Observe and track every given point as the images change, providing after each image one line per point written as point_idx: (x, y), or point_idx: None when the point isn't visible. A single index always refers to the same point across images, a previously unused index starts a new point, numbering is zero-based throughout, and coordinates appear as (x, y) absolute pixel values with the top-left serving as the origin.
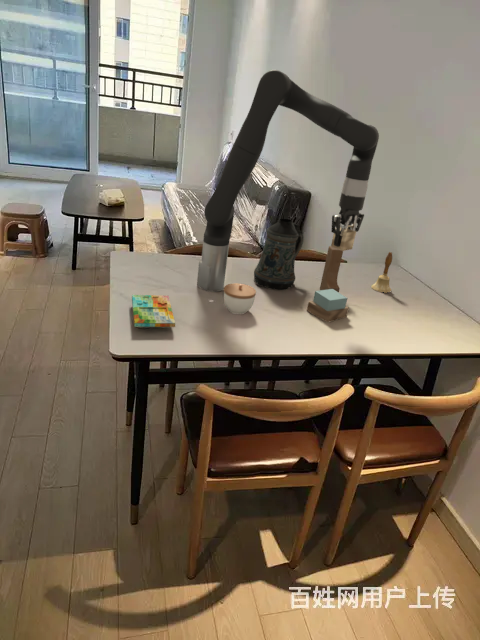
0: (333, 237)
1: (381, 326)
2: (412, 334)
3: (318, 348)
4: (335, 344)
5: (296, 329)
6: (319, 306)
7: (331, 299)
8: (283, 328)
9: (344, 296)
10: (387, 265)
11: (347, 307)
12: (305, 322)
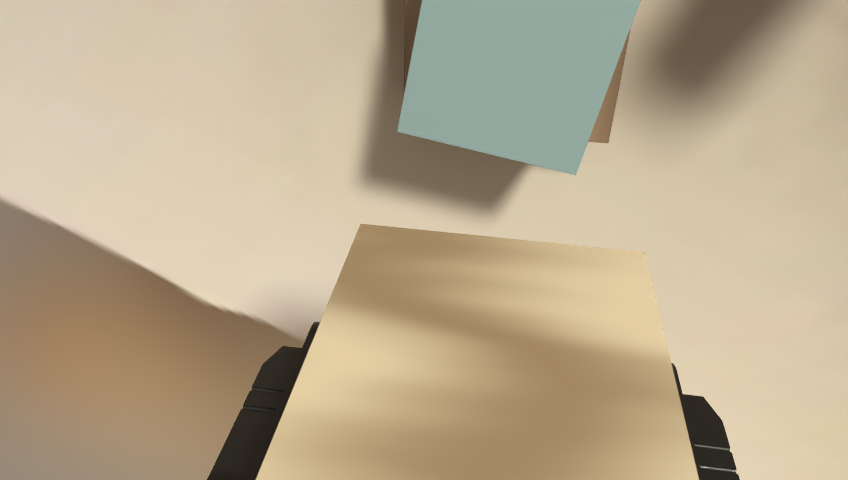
0: (316, 348)
1: (664, 292)
2: (713, 406)
3: (148, 236)
4: (254, 258)
5: (157, 56)
6: (418, 17)
7: (424, 127)
8: (86, 6)
9: (579, 147)
10: None
11: (605, 136)
12: (271, 24)
